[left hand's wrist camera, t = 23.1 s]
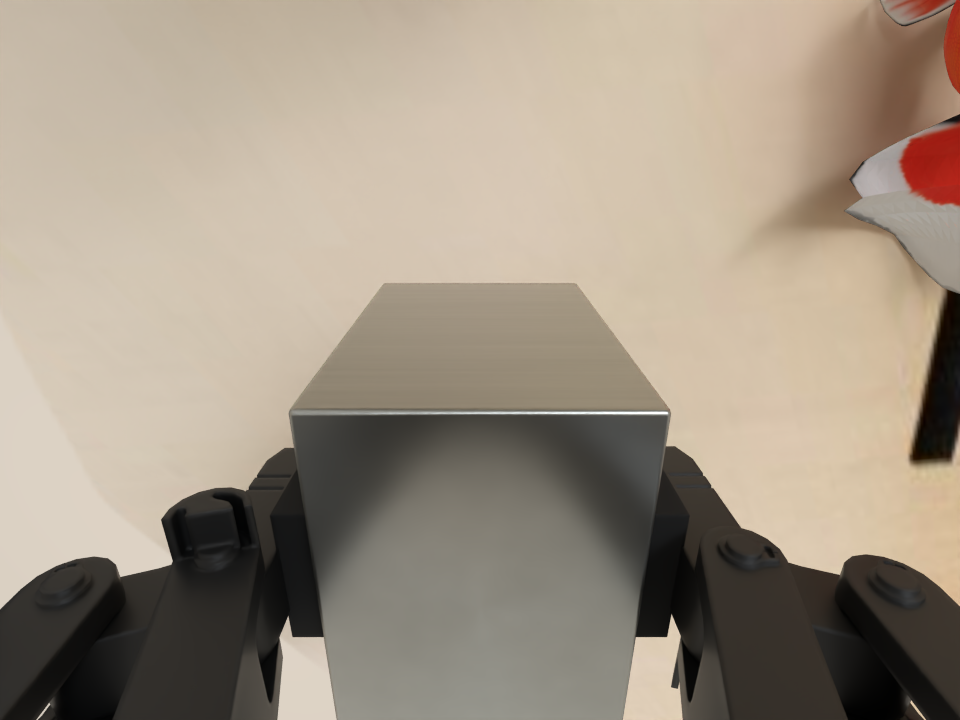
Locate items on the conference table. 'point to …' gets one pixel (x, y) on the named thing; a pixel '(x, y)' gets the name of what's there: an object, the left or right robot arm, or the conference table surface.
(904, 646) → the left robot arm
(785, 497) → the conference table surface
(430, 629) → the block
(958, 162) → the fish
